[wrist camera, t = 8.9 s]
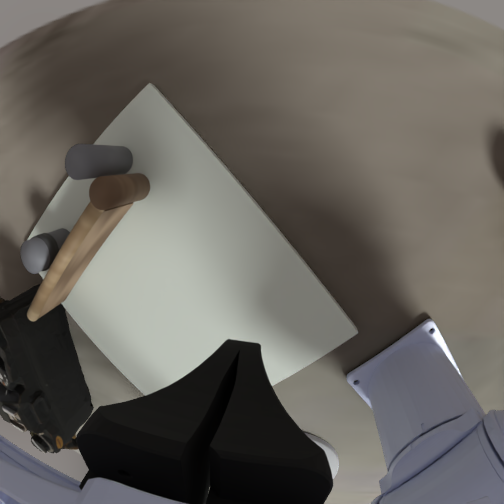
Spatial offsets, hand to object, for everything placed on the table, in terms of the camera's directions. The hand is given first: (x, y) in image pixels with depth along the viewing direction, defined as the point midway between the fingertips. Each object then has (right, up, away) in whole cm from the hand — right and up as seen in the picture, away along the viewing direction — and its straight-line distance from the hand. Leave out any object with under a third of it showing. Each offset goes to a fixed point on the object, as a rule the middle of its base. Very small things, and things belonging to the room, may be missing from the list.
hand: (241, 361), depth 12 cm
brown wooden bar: (-11, +5, +9) cm, 15 cm away
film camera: (-21, -6, +14) cm, 26 cm away
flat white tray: (-6, +2, +10) cm, 12 cm away
